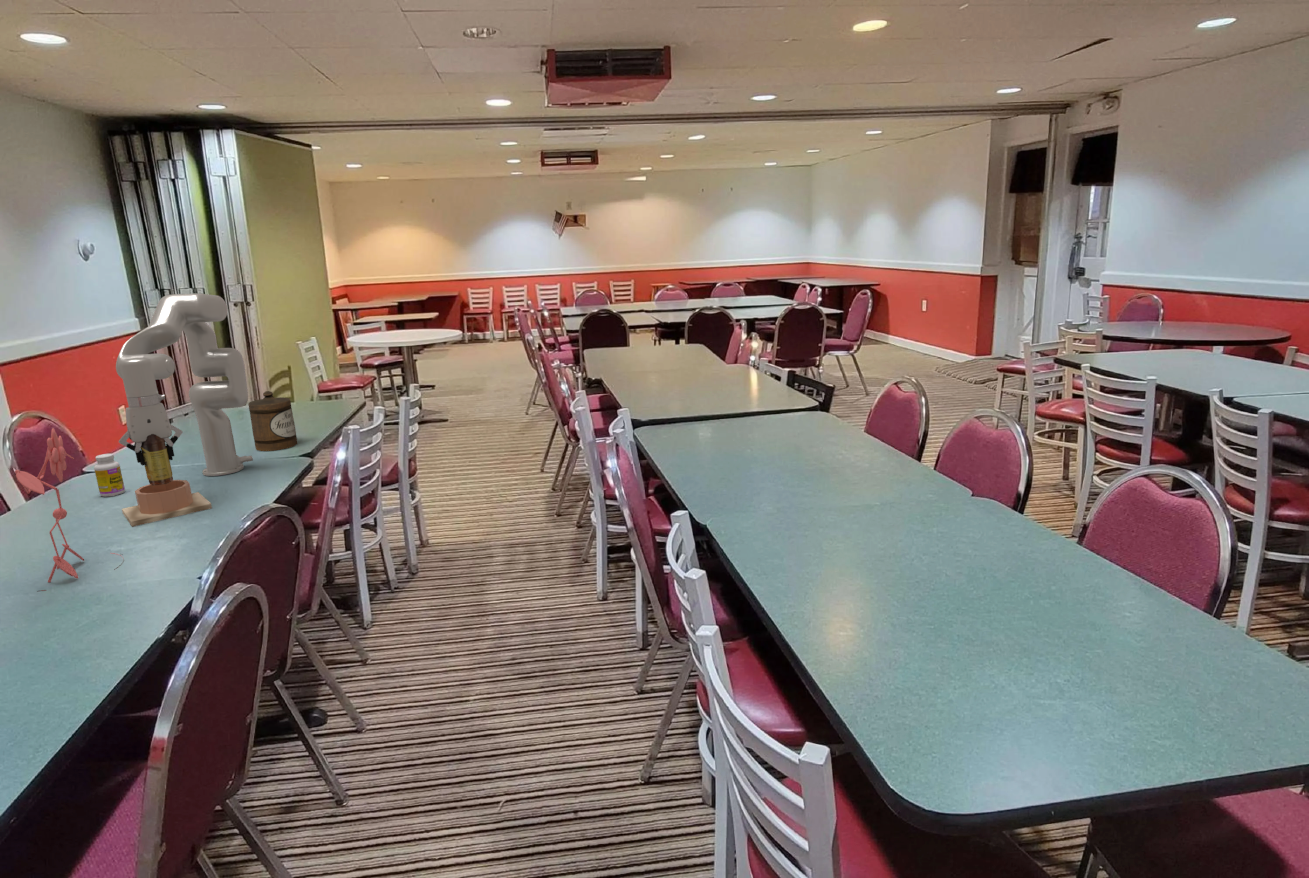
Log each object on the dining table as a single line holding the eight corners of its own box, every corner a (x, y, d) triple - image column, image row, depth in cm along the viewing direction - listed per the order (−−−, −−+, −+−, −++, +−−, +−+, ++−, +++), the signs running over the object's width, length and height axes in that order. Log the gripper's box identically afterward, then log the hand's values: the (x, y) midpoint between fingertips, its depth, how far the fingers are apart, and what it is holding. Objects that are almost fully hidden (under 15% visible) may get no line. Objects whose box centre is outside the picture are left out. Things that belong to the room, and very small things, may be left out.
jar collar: (186, 495, 230) (183, 477, 229) (197, 505, 221) (193, 486, 219) (136, 506, 222) (131, 487, 220) (144, 517, 212) (139, 497, 211)
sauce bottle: (151, 481, 221) (137, 416, 216) (176, 478, 223) (162, 413, 218) (146, 487, 215) (131, 420, 210) (171, 484, 217) (156, 417, 212)
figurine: (34, 597, 167) (-2, 445, 158) (60, 557, 189) (29, 422, 181) (117, 582, 174) (86, 436, 165) (133, 546, 196) (106, 415, 187)
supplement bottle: (112, 497, 236) (103, 458, 233) (95, 497, 238) (85, 458, 234) (130, 490, 243) (122, 452, 239) (113, 490, 244) (105, 452, 241)
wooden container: (286, 450, 285) (276, 394, 279) (248, 452, 285) (237, 395, 280) (304, 440, 299) (295, 386, 294) (268, 442, 299) (258, 388, 294)
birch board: (199, 496, 234) (198, 492, 233) (212, 508, 222) (211, 503, 222) (122, 513, 221) (121, 508, 220) (132, 526, 209) (130, 521, 209)
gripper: (175, 395, 221) (187, 453, 226) (105, 404, 210) (119, 466, 215) (181, 398, 216) (193, 457, 220) (109, 408, 205) (123, 471, 209)
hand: (156, 461), depth 217 cm, fingers closed on sauce bottle, 6 cm apart
